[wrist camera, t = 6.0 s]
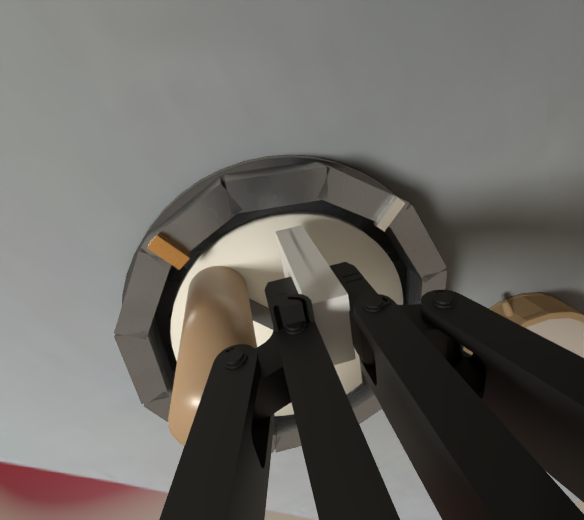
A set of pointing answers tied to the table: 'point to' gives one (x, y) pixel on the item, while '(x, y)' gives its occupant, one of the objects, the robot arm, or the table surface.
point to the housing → (241, 208)
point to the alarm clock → (545, 319)
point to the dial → (255, 298)
